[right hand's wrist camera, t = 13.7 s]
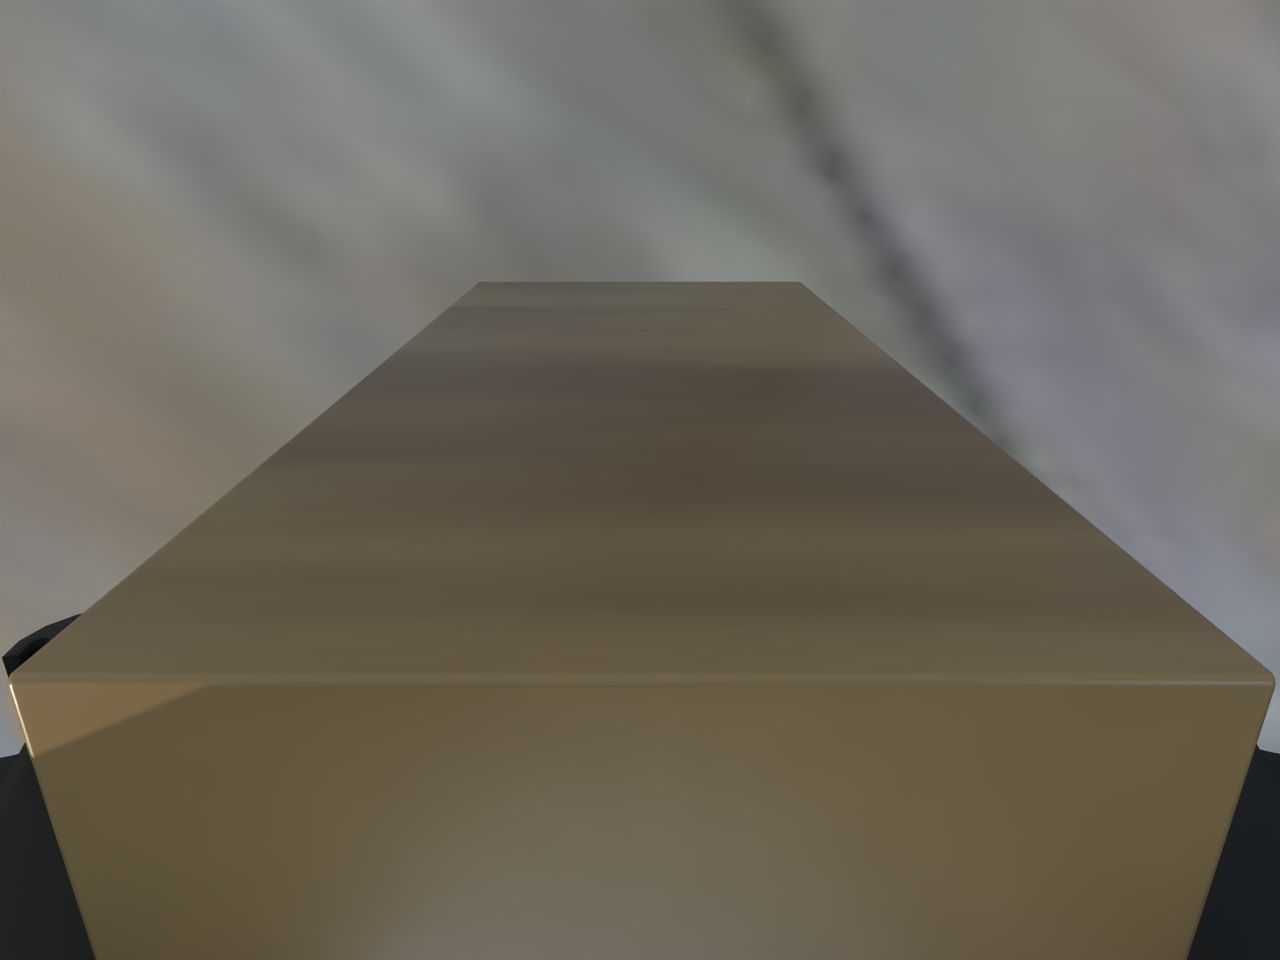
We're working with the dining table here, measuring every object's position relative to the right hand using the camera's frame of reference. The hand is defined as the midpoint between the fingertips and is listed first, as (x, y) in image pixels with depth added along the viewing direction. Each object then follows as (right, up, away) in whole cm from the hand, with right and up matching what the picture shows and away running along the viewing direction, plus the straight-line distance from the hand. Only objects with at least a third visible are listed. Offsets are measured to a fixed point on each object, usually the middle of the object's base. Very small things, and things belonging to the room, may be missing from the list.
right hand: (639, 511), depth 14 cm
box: (0, -5, +6) cm, 8 cm away
